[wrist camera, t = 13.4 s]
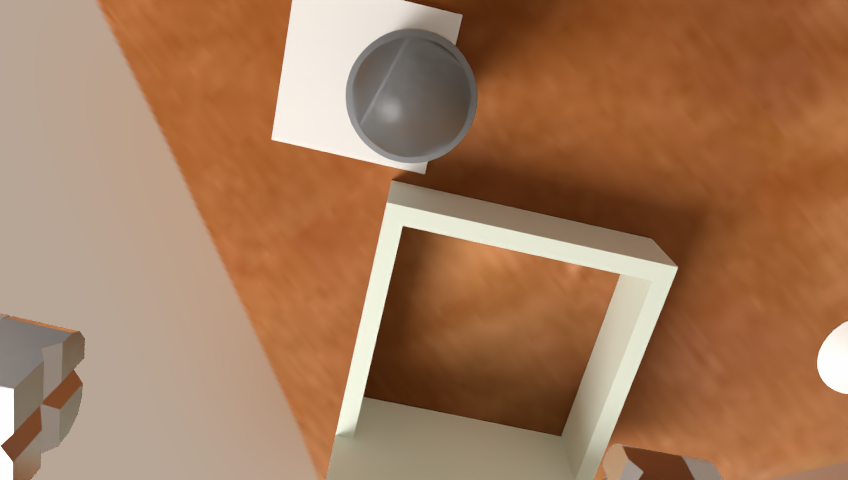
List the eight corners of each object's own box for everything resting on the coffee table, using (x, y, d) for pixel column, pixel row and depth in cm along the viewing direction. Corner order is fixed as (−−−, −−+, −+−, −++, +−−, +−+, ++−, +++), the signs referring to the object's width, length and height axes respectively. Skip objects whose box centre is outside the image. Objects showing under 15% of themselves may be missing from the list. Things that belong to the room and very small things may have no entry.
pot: (376, 9, 39) (362, 13, 30) (480, 38, 39) (493, 50, 31) (352, 114, 41) (332, 144, 33) (451, 140, 41) (456, 177, 33)
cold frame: (391, 180, 43) (379, 236, 33) (651, 238, 44) (717, 310, 34) (341, 409, 49) (318, 516, 39) (570, 455, 50) (605, 570, 40)
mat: (298, -26, 39) (296, -26, 38) (462, 14, 39) (462, 15, 39) (273, 137, 42) (271, 139, 42) (424, 172, 43) (424, 174, 42)
